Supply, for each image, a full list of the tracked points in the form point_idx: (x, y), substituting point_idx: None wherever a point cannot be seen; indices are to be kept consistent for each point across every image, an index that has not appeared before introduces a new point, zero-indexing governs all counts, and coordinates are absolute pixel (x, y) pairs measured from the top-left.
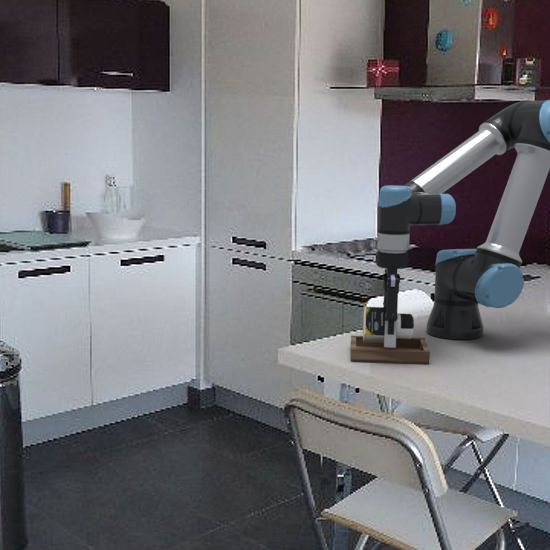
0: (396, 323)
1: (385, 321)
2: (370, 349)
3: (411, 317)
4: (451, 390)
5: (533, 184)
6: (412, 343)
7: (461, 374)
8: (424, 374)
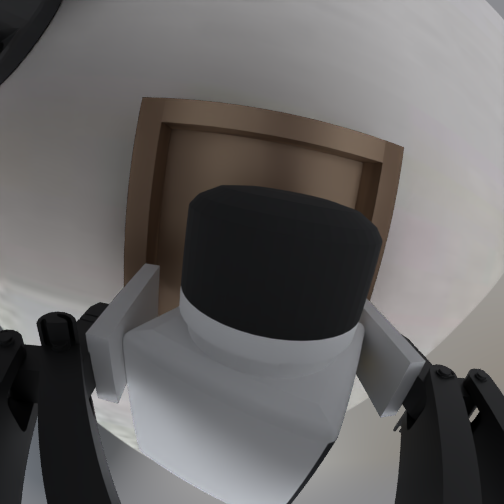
0: (416, 352)
1: (393, 410)
2: None
3: (366, 240)
4: None
5: None
6: (161, 161)
7: (459, 99)
8: (458, 205)
